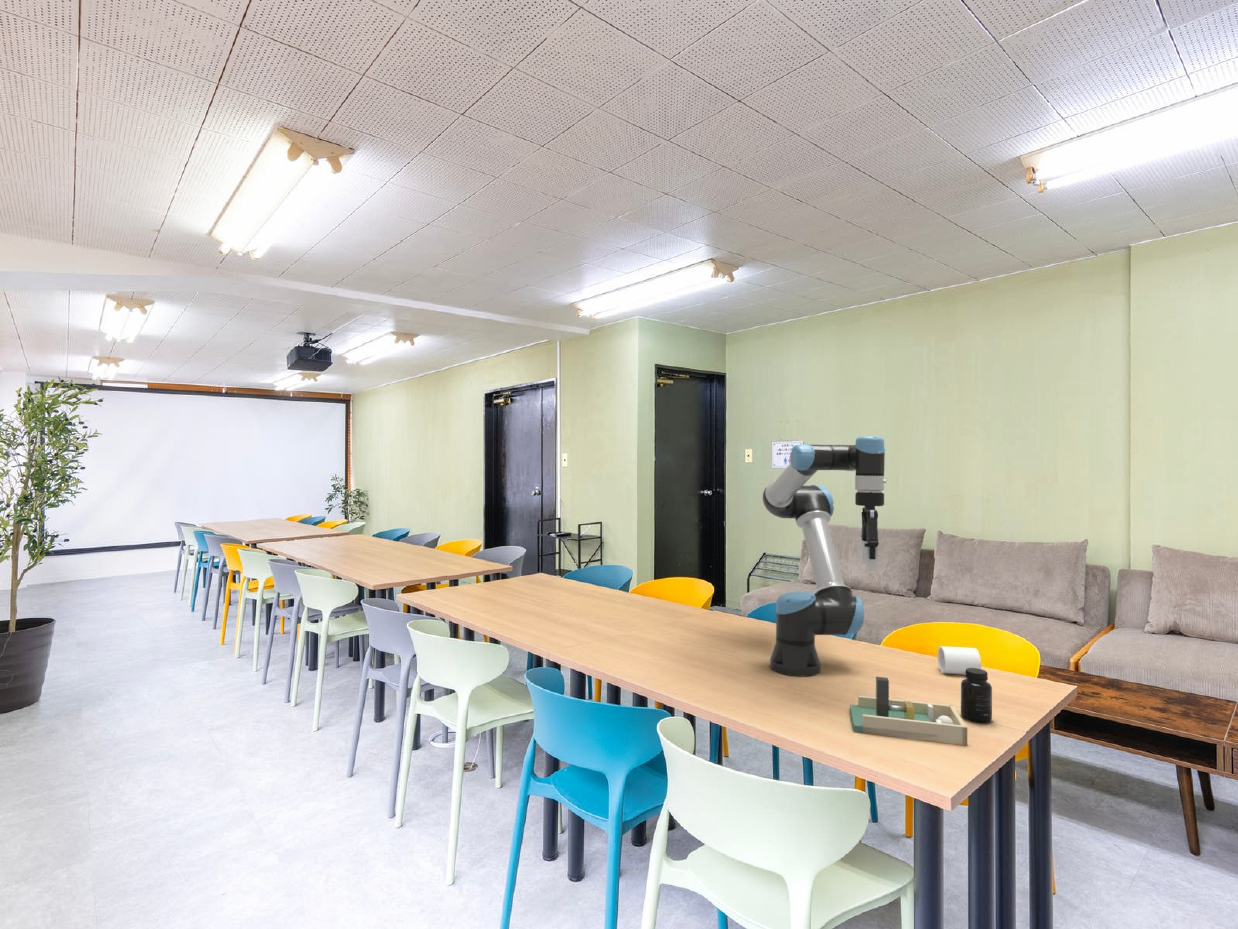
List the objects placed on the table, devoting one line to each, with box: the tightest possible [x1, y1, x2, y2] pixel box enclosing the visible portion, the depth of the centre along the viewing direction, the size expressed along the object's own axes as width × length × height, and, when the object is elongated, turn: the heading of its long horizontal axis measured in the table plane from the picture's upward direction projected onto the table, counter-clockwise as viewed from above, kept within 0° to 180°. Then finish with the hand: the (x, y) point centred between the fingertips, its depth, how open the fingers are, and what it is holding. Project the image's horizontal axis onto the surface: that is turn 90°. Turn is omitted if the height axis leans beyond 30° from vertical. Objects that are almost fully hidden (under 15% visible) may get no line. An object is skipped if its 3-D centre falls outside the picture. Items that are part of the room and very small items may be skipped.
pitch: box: [849, 695, 968, 746], centre depth 151 cm, size 24×14×4 cm, turn 74°
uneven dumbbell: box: [875, 676, 914, 720], centre depth 152 cm, size 8×4×9 cm, turn 74°
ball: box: [937, 716, 953, 724], centre depth 149 cm, size 4×4×4 cm
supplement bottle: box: [960, 668, 993, 724], centre depth 157 cm, size 7×7×12 cm
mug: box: [937, 645, 982, 676], centre depth 194 cm, size 12×10×8 cm
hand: (869, 567), depth 175 cm, fingers open, 13 cm apart
